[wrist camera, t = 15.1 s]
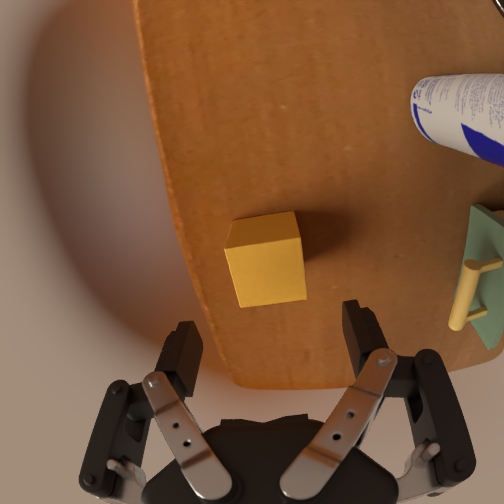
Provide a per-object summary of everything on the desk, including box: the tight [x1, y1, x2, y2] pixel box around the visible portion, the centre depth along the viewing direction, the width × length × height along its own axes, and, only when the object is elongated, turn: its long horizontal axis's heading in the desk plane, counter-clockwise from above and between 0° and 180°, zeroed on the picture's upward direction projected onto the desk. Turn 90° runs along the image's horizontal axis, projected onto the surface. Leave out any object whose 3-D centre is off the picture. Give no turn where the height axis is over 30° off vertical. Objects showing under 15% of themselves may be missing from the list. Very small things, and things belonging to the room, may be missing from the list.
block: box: [224, 211, 308, 308], centre depth 20 cm, size 5×5×5 cm
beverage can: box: [410, 74, 504, 168], centre depth 9 cm, size 6×6×15 cm
